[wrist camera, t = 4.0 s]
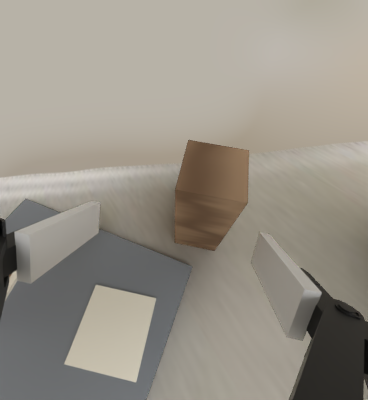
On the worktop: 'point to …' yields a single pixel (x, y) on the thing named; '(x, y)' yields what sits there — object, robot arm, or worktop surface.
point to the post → (209, 193)
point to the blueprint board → (88, 319)
